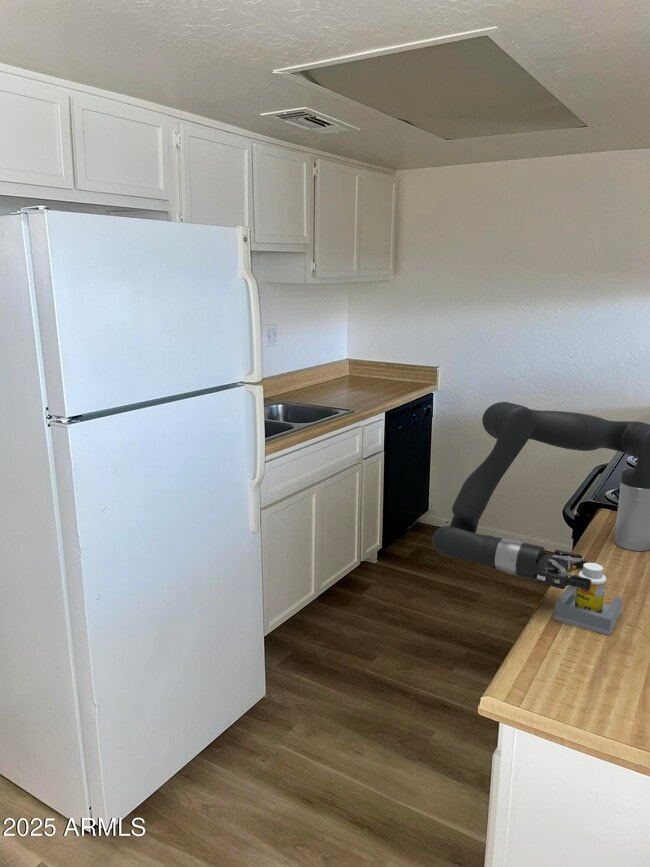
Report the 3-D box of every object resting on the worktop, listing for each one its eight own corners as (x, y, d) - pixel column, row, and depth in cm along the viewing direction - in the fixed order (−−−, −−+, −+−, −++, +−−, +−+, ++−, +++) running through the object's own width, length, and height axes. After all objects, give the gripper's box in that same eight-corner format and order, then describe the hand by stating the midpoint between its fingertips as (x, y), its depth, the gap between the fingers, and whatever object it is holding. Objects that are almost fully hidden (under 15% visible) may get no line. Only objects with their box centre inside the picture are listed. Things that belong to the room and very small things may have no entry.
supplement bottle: (568, 606, 142) (573, 562, 140) (589, 602, 144) (594, 559, 142) (586, 618, 137) (591, 573, 135) (608, 614, 139) (613, 569, 137)
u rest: (568, 598, 148) (569, 584, 147) (620, 613, 142) (622, 598, 141) (554, 619, 139) (555, 604, 138) (609, 635, 133) (611, 619, 132)
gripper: (510, 553, 141) (589, 573, 132) (531, 532, 152) (605, 549, 143) (507, 586, 142) (585, 607, 133) (528, 562, 154) (602, 581, 145)
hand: (595, 577), depth 138 cm, fingers open, 8 cm apart
